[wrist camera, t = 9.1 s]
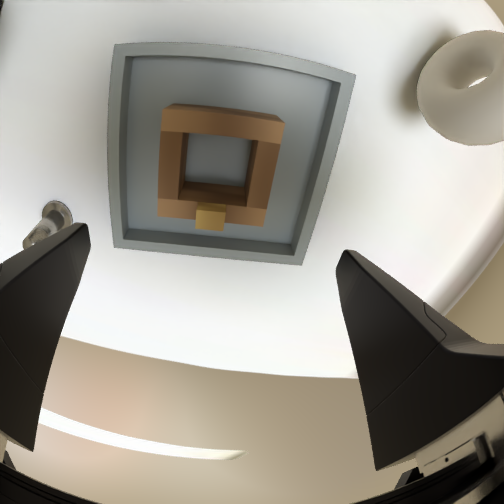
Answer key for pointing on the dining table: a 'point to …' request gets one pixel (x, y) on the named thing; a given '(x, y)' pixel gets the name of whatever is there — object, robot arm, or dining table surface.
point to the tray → (221, 144)
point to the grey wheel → (465, 89)
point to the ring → (207, 194)
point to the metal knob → (49, 223)
